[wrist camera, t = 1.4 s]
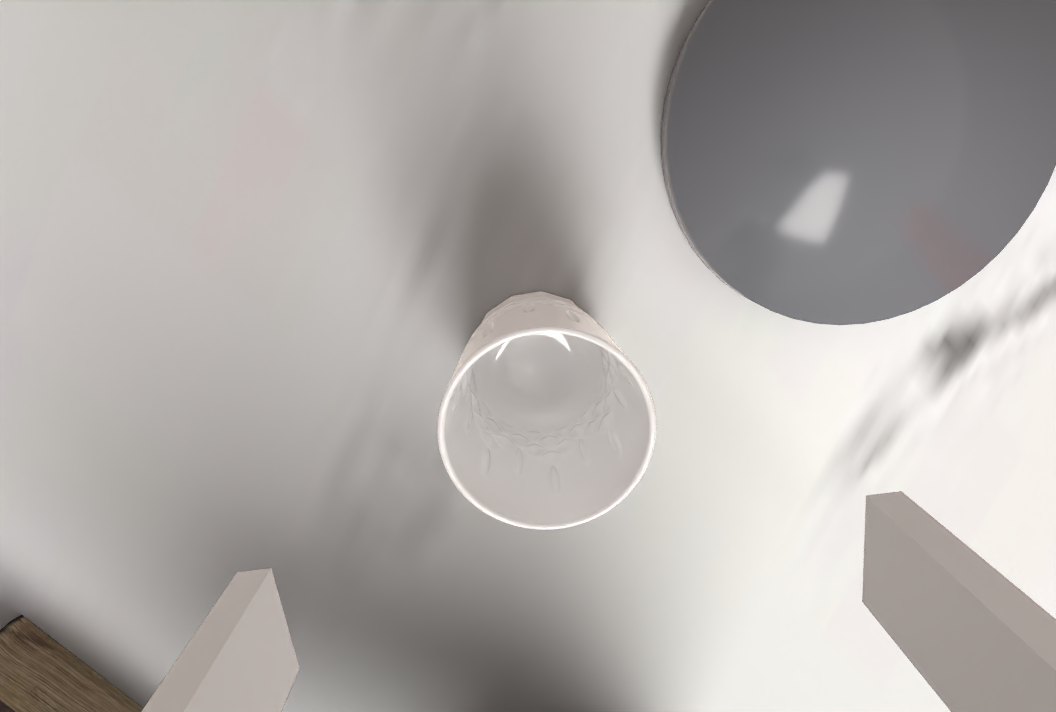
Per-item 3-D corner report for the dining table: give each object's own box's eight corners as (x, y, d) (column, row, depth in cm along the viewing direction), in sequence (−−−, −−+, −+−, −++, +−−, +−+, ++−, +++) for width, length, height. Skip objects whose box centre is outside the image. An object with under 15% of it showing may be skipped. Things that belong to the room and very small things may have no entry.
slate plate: (1024, 294, 32) (1049, 300, 30) (672, 338, 32) (680, 346, 30) (1066, -119, 27) (1098, -136, 25) (647, -63, 27) (655, -77, 25)
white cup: (557, 247, 30) (579, 281, 21) (641, 374, 32) (697, 458, 23) (428, 337, 32) (391, 408, 22) (516, 454, 34) (519, 566, 24)
